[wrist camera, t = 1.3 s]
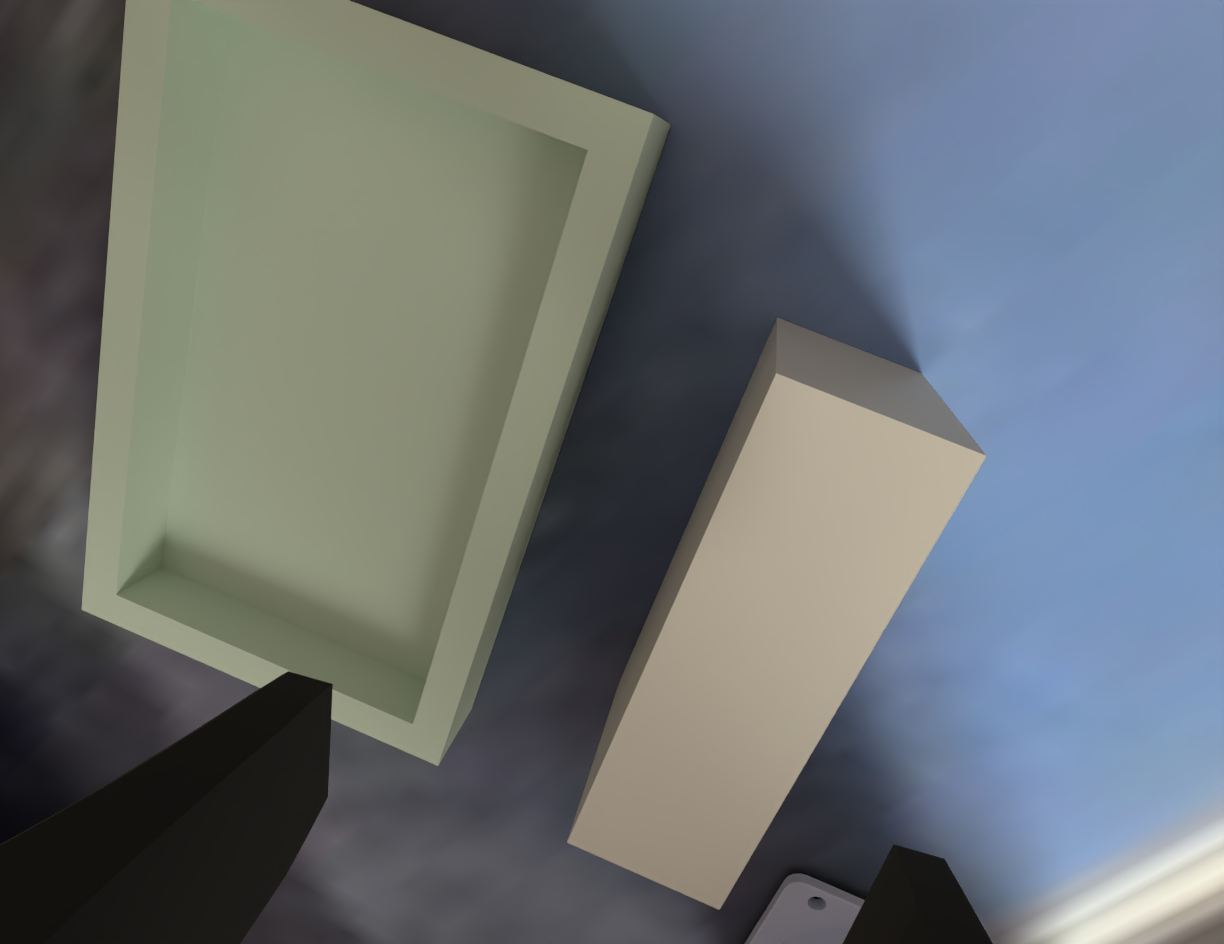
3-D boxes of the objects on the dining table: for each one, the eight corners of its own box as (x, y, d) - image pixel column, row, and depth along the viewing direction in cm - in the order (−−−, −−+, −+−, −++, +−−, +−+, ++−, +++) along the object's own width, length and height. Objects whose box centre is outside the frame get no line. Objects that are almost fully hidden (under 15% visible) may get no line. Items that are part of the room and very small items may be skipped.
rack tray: (671, 124, 17) (653, 114, 14) (471, 708, 23) (438, 766, 21) (217, -45, 17) (131, -81, 15) (148, 569, 24) (81, 609, 22)
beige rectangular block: (921, 372, 17) (986, 455, 12) (734, 727, 22) (719, 910, 16) (777, 316, 18) (776, 373, 12) (620, 679, 22) (566, 842, 16)
